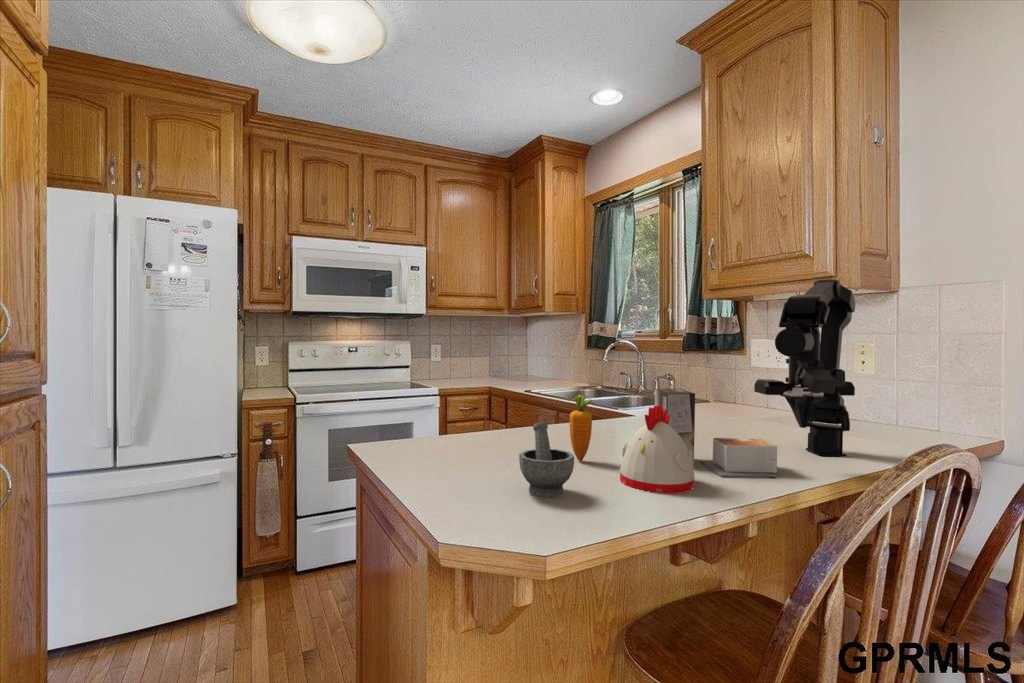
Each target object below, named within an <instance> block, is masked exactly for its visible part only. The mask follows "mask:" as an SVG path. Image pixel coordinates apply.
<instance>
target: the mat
mask: <svg viewBox="0 0 1024 683" xmlns="http://www.w3.org/2000/svg"><path fill="white" fill-rule="evenodd" d="M699 462H700V464H702V463H703V464H704V466H705V465H706V466H707V467H706V466H705V467H706V468H708V469H709V468H710V469H711V470H710V469H709V470H710V471H712V472H713V471H714V472H715V473H714V472H713V473H714V474H716V473H717V474H718V475H717V474H716V475H717V476H718V477H720V476H721V477H720V478H750V477H777V476H776V475H775V474H773V473H772V472H726V471H725V470H724V469H723V468H721V467H720V466H718V465H717V464H715V463H713V459H711V460H710V459H706V460H704V459H700V460H699ZM703 464H702V465H703Z"/></svg>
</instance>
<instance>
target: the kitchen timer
mask: <svg viewBox="0 0 1024 683" xmlns="http://www.w3.org/2000/svg"><path fill="white" fill-rule="evenodd" d="M669 418H670V415H666V410H663V406H662V405H658V406H655V405H653V407H648V414H644V420H645V425H643V426H641V427H640V428H639V429H638V430H637V431H636V432H635V434H634V435H633V436H632V437H631V439H630V440H629V443H628V442H625V443H624V444H623V447H622V452H621V453H622V459H621V464H620V472H619V480H620V483H621V484H623V485H624V486H626V487H628V486H629V487H628V488H631V489H633V488H634V489H635V490H637V489H639V490H638V491H641V490H643V491H642V492H647V491H650V492H649V493H653V492H657V493H656V494H680V493H679V492H681V493H686V492H690V491H692V490H693V489H694V488H695V471H694V466H693V456H692V451H688V449H687V447H686V445H685V443H684V441H683V440H682V438H681V437H680V435H679V434H678V433H677V432H676V431H675V430H674V429H673V428H672V427H670V426H669V425H668V423H669ZM692 488H693V489H692ZM691 489H692V490H691ZM689 490H690V491H689ZM685 491H686V492H685Z"/></svg>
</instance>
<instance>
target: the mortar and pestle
mask: <svg viewBox="0 0 1024 683" xmlns="http://www.w3.org/2000/svg"><path fill="white" fill-rule="evenodd" d="M532 428H533V431H534V443H535V444H534V445H535V448H534V449H526V450H524V451H522V452H519V454H518V455H519V456H518V458H519V460H518V461H519V468H520V471H521V473H522V476H523V478H524V479H525V480H526V482H528V484H529V487H528V492H529V493H528V494H530V496H532V497H535V498H537V499H556V498H560V497H561V496H563V495H564V484H565V483H566V482H567V481H568V480H570V478H571V476H572V474H573V472H574V466H575V456H574V455H575V454H572V453H571V452H570V451H565V450H562V449H556V448H554V449H553V448H551V446H550V440H549V435H548V434H549V433H548V428H549V425H548V424H547V423H546V422H543V421H541V422H537V423H534V424H533V426H532Z"/></svg>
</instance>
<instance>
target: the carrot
mask: <svg viewBox="0 0 1024 683" xmlns="http://www.w3.org/2000/svg"><path fill="white" fill-rule="evenodd" d="M585 400H586V396H585V395H581V394H579V395H577V396H576V397H575V398H574V401H575V403H576V406H577V409H576V410H573V411H571V412H570V414H569V435H570V442H571V446H572V447H571V448H572V450H573V453H574V455H575V457H576V460H577V461H578V462H580V461H581V462H582V461H583V460H584V459H585V457H586V455H587V452H588V450H589V446H590V442H591V437H592V426H593V415H592V413H591V412H590V411H588V410H585V409H586V407H587V406H588V405H589V404H590V403H592V402H593V400H592V399H591V398H590V399H588V400H586V401H585Z"/></svg>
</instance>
